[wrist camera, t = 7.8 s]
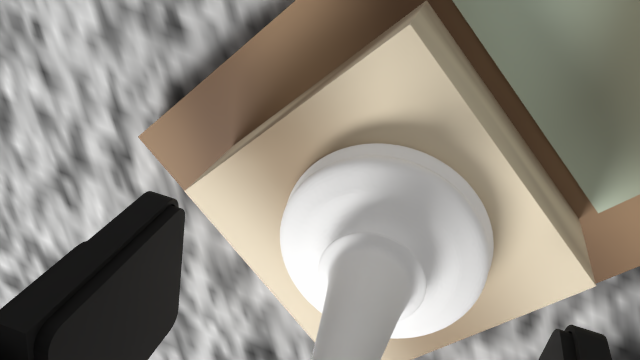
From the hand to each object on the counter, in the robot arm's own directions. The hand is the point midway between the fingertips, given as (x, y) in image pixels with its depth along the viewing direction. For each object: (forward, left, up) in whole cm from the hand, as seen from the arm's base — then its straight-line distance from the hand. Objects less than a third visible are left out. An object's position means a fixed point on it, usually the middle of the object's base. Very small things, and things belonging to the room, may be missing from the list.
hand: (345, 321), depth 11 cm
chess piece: (0, 0, -3) cm, 3 cm away
